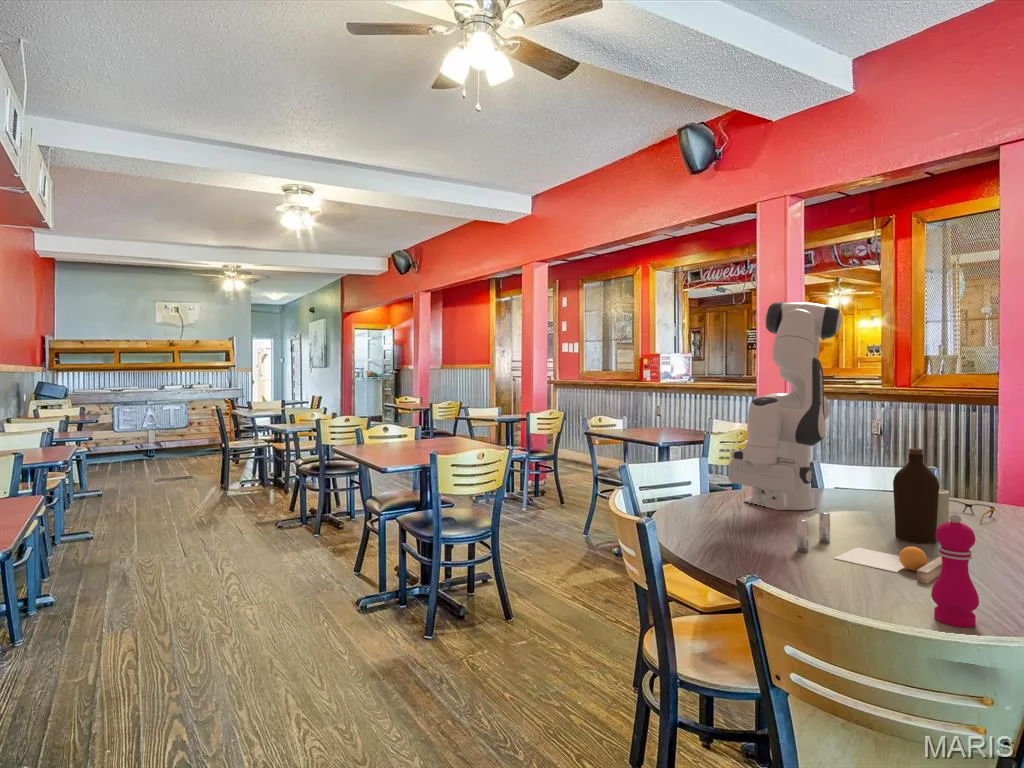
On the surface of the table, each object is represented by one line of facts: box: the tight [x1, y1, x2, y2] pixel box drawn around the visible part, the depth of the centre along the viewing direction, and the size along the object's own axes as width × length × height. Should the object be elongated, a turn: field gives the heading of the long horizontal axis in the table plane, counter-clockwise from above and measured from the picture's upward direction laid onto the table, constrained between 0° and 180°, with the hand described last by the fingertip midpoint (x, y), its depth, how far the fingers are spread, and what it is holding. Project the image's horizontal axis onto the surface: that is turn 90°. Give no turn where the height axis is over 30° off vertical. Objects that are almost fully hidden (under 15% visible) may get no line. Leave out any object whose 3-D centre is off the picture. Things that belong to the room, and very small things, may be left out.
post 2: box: [818, 511, 831, 545], centre depth 167 cm, size 3×3×8 cm
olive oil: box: [892, 447, 940, 544], centre depth 169 cm, size 11×11×25 cm
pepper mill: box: [930, 513, 980, 628], centre depth 114 cm, size 7×7×20 cm
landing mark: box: [833, 547, 906, 574], centre depth 151 cm, size 14×14×1 cm
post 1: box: [796, 518, 809, 553], centre depth 159 cm, size 3×3×8 cm
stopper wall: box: [916, 555, 942, 584], centre depth 141 cm, size 2×20×2 cm, turn 129°
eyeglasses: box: [949, 499, 996, 525], centre depth 195 cm, size 14×14×4 cm
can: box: [937, 488, 950, 528], centre depth 179 cm, size 9×9×12 cm
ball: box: [898, 546, 928, 572], centre depth 143 cm, size 6×6×6 cm
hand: (762, 503), depth 174 cm, fingers closed
